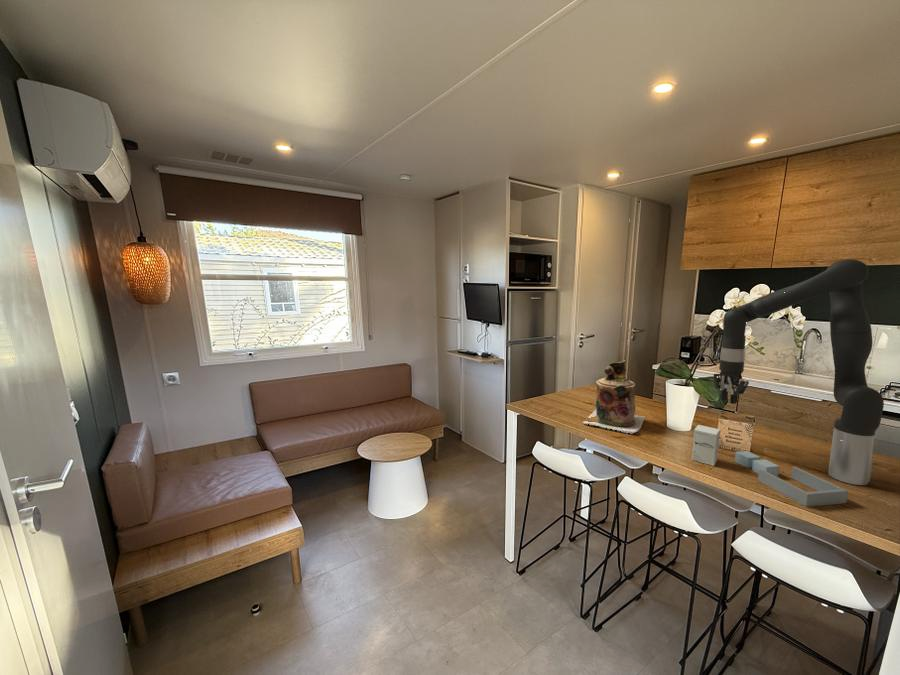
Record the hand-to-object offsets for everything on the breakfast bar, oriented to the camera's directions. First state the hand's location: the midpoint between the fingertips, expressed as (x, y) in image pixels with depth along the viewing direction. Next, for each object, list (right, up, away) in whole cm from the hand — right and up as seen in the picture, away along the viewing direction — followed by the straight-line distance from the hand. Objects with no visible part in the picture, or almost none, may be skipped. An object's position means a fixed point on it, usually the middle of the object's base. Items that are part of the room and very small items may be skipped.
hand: (728, 401), depth 142 cm
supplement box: (-12, -22, -3) cm, 26 cm away
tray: (+3, -25, -25) cm, 35 cm away
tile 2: (+2, -23, -14) cm, 27 cm away
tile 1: (+1, -22, -7) cm, 24 cm away
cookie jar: (-29, -17, +37) cm, 50 cm away
